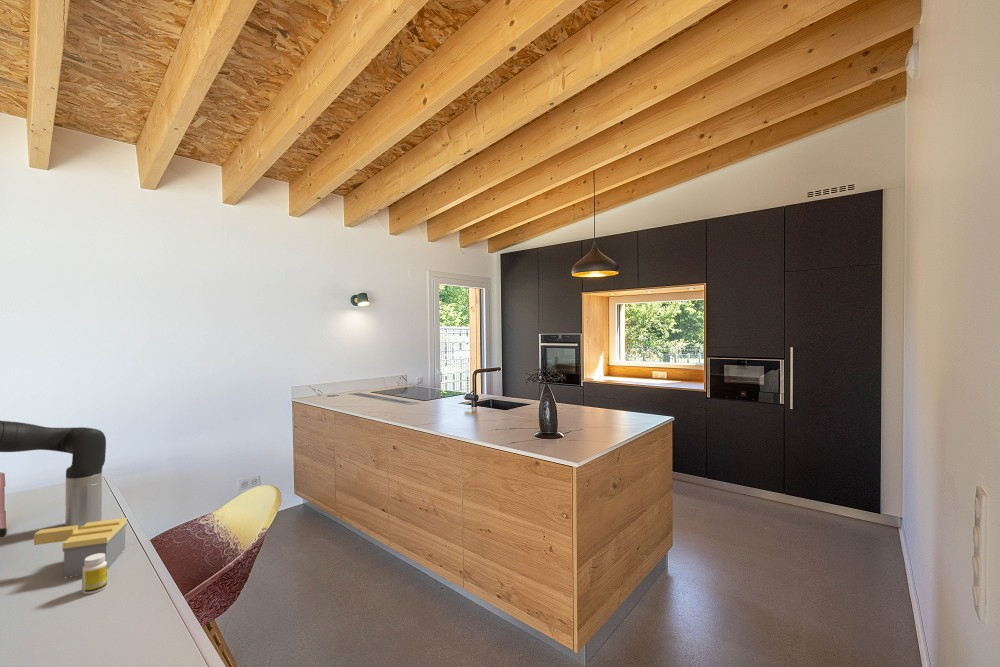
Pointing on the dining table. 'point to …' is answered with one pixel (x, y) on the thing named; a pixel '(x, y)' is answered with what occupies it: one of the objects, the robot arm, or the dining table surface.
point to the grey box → (78, 554)
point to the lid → (81, 533)
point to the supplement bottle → (94, 574)
